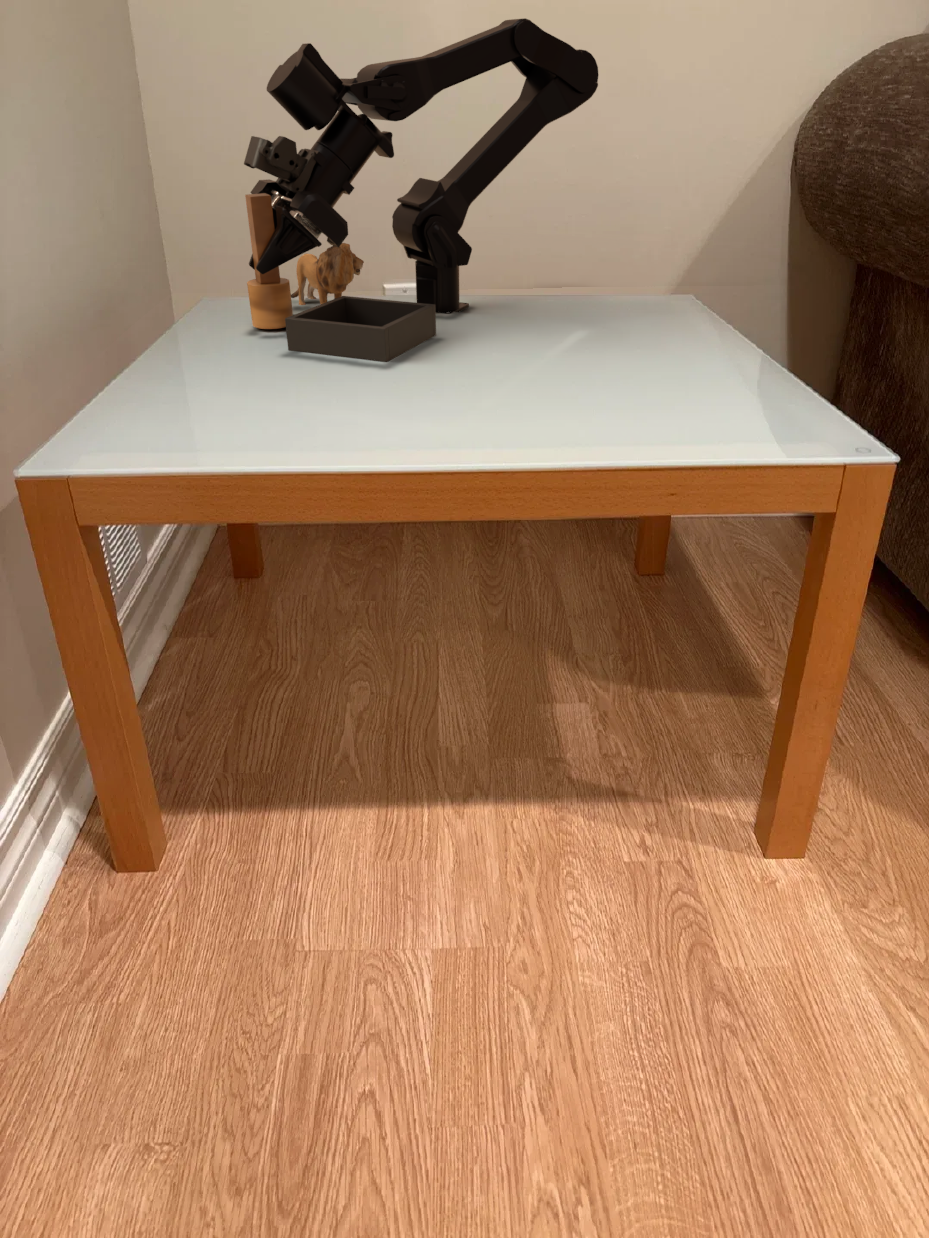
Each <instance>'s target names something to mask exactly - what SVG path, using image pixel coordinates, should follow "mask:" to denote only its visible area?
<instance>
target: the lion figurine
mask: <svg viewBox="0 0 929 1238" xmlns="http://www.w3.org/2000/svg"><path fill="white" fill-rule="evenodd" d="M364 263H365V261H364V260H363V259H362V258H360V257H358V256H357V255H356V253H354V252H353V251H352V249H351V245H350V244H349V243H346V242H342V244H341V245H340V246H339V248H338V247H335V246H333V245H331V246H330V247H327V248H326V249H325V250H324V251H323V252H321V253H320V254H319V255H318V257H317V256H316V255H314V254H313V253H303V254H302V255H300V257H299V258H298V260H297V262H296V279H297V285H298V287H297V289H296V291H294V292H292V293H291V299H296V298H297V297H298V305H299V306H305V305H307V303H306V302H305V287H306V283H307V281H308V284H307V294H306V295H307V299H309V300H315V299H317V297H316V296H314V291H315V290H317V292H318V299H319V303H320V304H323V303H325V302H328V295H329V294H330V295H333V299H336V298H338V297H341V296H343V293H344V292H345V291H346V290H347V286H348V285H349V284H351V283H352V282H353V280H354V277H355V275H356V276H360V275H361V269H363V268H364V267H363V266H364ZM320 304H319V305H320Z"/></svg>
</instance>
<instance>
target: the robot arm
mask: <svg viewBox="0 0 929 1238" xmlns="http://www.w3.org/2000/svg"><path fill="white" fill-rule="evenodd" d="M509 63H511V64H512V65H513V66H514V67H515V69H516V70H517V71H518V73H520V74H521V75H522V76H523V77H525V80H524V83H523V86H522V89H521V92H520V95H519V97H518V98H517V100H515V102H514V103H513V104H512V105H511V106H510V107H509V108H508V109H507V111H506V112H504V114H502V116H501V117H499V119H498V120H497V121H496V122H495V123H494V124H493V125H492V126H491V127H489V129H488V130H487V131H486V132H485V133H484V134H483V136H481V138H479V140H478V141H476V143H475V144H474V145H473V146H472V147H471V148H470V149H469V150H468V151H467V152H466V153H465V155H463V156H462V157H461V158H460V160H458V162H457V163H456V164H455V165H453V167H452V168H451V169H450V170H449V171H448V172H447V173H446V174H445V175H444V176H443V177H442V178H441V179H439V180H433V179H428V178H422V177H419V178H417V180H416V181H415V182H414V183H413V185H412V186H411V187H410V189H409V190H408V192H407V193H405V194H404V195H402V196H401V197H398V198H397V199H396V201H397V202H398V203H399V205H398V206H397V207H396V208H395V210H394V211H393V213H392V217H391V218H392V224H391V225H392V232H393V235H394V237H395V239H396V240H397V242H398V243H400V244H401V245H402V246H403V248H404V251H405V254H406V257H407V258H408V259H411V260H415V262H414V263H415V294H416V303H424V304H435V305H436V314H445V315H450V314H453V313H461V312H462V311H464V310H466V309H468V308H470V303H469V302H461V301H460V267H461V266H462V267H463V266H468V265H469V262H470V258H471V254H472V251H473V248H472V246H471V245H470V244H469V243H468V242H467V241H466V239H464V238H463V237H462V235H461V234H460V233H459V232H460V230H461V229H462V227H463V226H464V222H465V221H466V220H465V219H466V217H467V214H468V211H469V208H470V206H471V205H472V203H473V202H474V201H475V200H476V199H477V198H478V197H479V196H480V195H481V194H482V193H483V192H484V191H485V190H486V189H487V187H488V186H489V185H490V184H491V183H492V182H493V181H494V180H495V179H496V178H497V177H498V176H499V175H500V174H501V173H502V172H503V171H504V170H505V169H506V168H507V167H508V166H509V165H510V164H511V162H513V161H514V159H516V157H518V155H519V154H521V152H522V151H523V150H524V149H525V148H526V147H527V146H528V145H529V144H530V143H531V142H532V140H533V139H535V137H536V136H538V134H539V133H540V132H541V131H542V130H543V129H544V128H545V127H546V126H547V125H549V124H551V123H553V122H554V121H557V120H559V119H560V118H563V117H565V116H567V115H569V114H571V113H572V112H574V111H575V110H577V109H578V108H579V107H581V106H582V105H584V104H585V103H587V101H589V100H590V99H591V98H592V97H593V96H594V94H595V93H596V91H597V90H598V87H599V66H598V63H597V60H596V59H595V57H594V55H593V54H592V53H590V52H589V51H588V50H586V49H576V48H575V47H574V46H572V45H571V44H569V43H567V42H566V41H563V40H562V39H560V38H558V37H556V36H554V35H552V34H551V33H548V32H547V31H545V30H544V29H542V28H541V27H539V25H537V24H535V23H534V22H533V21H532V20H530V19H528V18H514V19H513V18H512V19H505V20H503V21H502V22H501V23H500V24H499V25H496V26H493V27H491V28H489V29H487V30H484V31H481V32H479V33H477V34H474V35H472V36H469V37H467V38H465V39H462V40H460V41H457V42H454V43H452V44H450V45H446V46H444V47H443V48H439V49H437V50H434V51H432V52H429V53H427V54H425V55H422V56H415V57H411V58H402V59H395V60H389V61H383V62H377V63H376V62H375V63H371V64H367V65H365V66H364V67H362V68H361V69H359V71H358V72H357V74H356V77H353V78H352V77H351V78H340V77H339V76H338V75H337V74H336V72H335V71H334V70H332V68H331V67H330V66H329V65H328V64H327V63H326V62H325V61H324V59H323V58H322V56H321V54H320V53H319V51H318V49H316V47H314V45H313V44H312V42H311V43H309V42H308V43H302V44H301V45H300V47H299V48H298V49H297V51H295V52H293V53H292V54H291V55H290V56H289V57H288V58H287V59H286V60H285V61H284V62H283V63H282V64H279V65H278V66H277V67H276V69H275V70H274V72H273V73H272V75H271V77H270V78H269V80H268V82H267V85H266V92H267V93H268V94H269V95H270V96H271V97H272V98H273V99H274V100H275V101H276V102H277V103H278V104H279V105H280V106H281V108H283V110H285V111H286V112H287V113H288V115H290V116H291V118H292V119H293V120H294V121H295V122H296V123H297V124H298V125H299V126H300V127H301V128H302V129H303V130H304V131H309V130H311V129H313V128H314V129H315V130H317V131H321V130H323V129H324V130H323V132H322V133H321V134H320V136H319V137H318V139H317V140H316V142H315V143H314V144H313V145H312V147H311V148H310V149H309V148H301V149H300V150H299V151H298V149H297V142H296V141H295V140H292V139H290V138H288V137H286V136H283V135H279V136H277V137H276V138H275V140H274V141H271V140H269V139H265V138H263V137H260V136H255V135H252V136H251V137H250V140H249V144H248V147H247V151H246V154H245V158H244V161H243V165H244V166H246V167H249V168H250V169H257V170H260V171H261V172H264V173H267V174H269V175H271V176H273V177H275V178H277V179H276V180H272V179H258V181H257V182H256V184H255V185H254V186H253V188H252V189H251V191H250V194H262V193H266V194H268V195H271V201H272V210H273V219H274V228H275V231H274V233H273V235H272V237H271V238H270V240H269V242H268V244H267V246H266V248H265V250H264V251H263V253H262V255H261V257H260V259H259V261H258V263H257V265H256V270H258V271H259V272H260V273H261V274H265V273H267V272H269V271H270V270H272V269H274V268H276V267H278V266H279V267H280V266H282V265H283V264H286V263H287V262H289V261H291V260H293V259H295V258H297V257H299V256H302V255H304V254H306V253H307V252H309V251H311V250H313V249H315V248H320V247H321V246H322V245H323V243H322V242H321V241H320V240H319V237H320V236H321V235H322V234H323V235H325V237H326V242H327V243H328V244H329V245H331V246H335V247H338V248H339V246H340V245H341V244H342V243H344V241H345V240H346V238H347V237H348V235H349V224H348V221H347V220H346V219H345V218H344V217H343V216H342V215H341V214H340V213H339V212H338V211H337V210H336V209H335V208H334V207H335V205H336V204H337V203H338V202H339V200H340V199H341V197H342V196H343V195H348V196H350V195H351V194H352V193H353V191H354V189H355V187H354V185H352V183H353V181H354V179H355V178H356V177H357V176H358V174H359V173H360V171H362V169H363V168H364V166H365V165H366V163H367V162H368V161H369V159H370V158H371V156H372V155H373V154H374V152H375V154H377V155H378V156H379V157H382V158H389V159H392V158H394V157H395V151H394V145H393V132H391V131H386V130H383V131H381V130H380V129H379V127H377V126H376V124H375V123H374V122H373V121H372V120H378V121H389V122H400V121H404V120H406V119H407V118H408V117H410V116H412V115H413V114H414V113H416V112H417V111H419V110H421V109H422V108H423V107H424V106H426V105H427V104H428V103H429V102H430V101H431V100H432V99H433V98H434V97H435V96H436V95H437V94H439V93H441V92H442V91H443V90H446V89H448V88H451V87H453V86H455V85H458V84H460V83H462V82H465V81H467V80H470V79H472V78H475V77H477V76H479V75H482V74H484V73H487V72H489V71H491V70H494V69H497V68H499V67H501V66H504V65H506V64H509ZM350 105H352V106H357V109H359V111H360V112H361V113H359V114H357V113H356V112H355V111H354V110H353V109H352V108H351V107H350ZM248 265H249V267H250V268H252V269H253V270H254V271H255V269H254V261H253V253H252V254H251V256H250V259H249V261H248Z"/></svg>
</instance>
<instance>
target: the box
mask: <svg viewBox="0 0 929 1238" xmlns="http://www.w3.org/2000/svg"><path fill="white" fill-rule="evenodd" d="M285 323H286V327H285V331H286V333H285V334H286V341H287V350H288V351H290V352H299V353H306V354H315V355H324V356H332V357H340V358H348V359H355V360H365V361H372V362H380V363H388V362H389V361H391V360H393V359H394V358H397V357H398V356H400V355H402V354H404V353H406V352H408V351H410V350H412V349H413V348H415V347H417V346H419V345H421V344H423V343H425V342H426V341H428V340H430V339H432V338H434V337H436V336H437V313H436V305H435V304H424V303H417V302H412V301H403V300H391V299H381V298H369V297H361V296H360V297H358V296H349V295H342V296H341V297H338V298H336V299H334V298H333V299H331V300H329V301H328V300H327V302H325V303H323V304H317V305H315V306H313V307H310V308H307V309H305V310H303V311H300V312H298V313H295V314H293V315H292V316H290V317H287V318H285Z"/></svg>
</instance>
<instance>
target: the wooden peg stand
mask: <svg viewBox="0 0 929 1238" xmlns="http://www.w3.org/2000/svg"><path fill="white" fill-rule="evenodd" d="M244 196H245V203H246V212H247V220H248V221H247V222H248V227H249V236H250V244H251V252H252V253H253V261H254V269H255V270H254V269H253V270H254V276H255V278H254V279H250V280H248V281H247V282H246V285H247V293H248V301H249V307H250V308H249V309H250V316H251V322H252V323H251V324H252V327H254V328H256V329H262V330H277V329H284V328H286V323H285V318H287V317H290V316H292V315H294V312H293V302H292V298H291V295H292V293H291V283H290V279H288V278H285V277H281V274H280V273H281V272H280V266H278V267H276V268H274V269H272V270H270V271H269V272H267V273H265V274H261V273H260V272H259V271H258V270H256V265H257V263H258V261H259V259H260V257H261V255H262V253H263V251H264V250H265V248H266V246H267V244H268V242H269V240H270V238H271V237H272V235H273V233H274V231H275V228H274V219H273V210H272V201H271V195H268V194H266V193H262V194H251V193H247V194H245V195H244Z"/></svg>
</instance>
